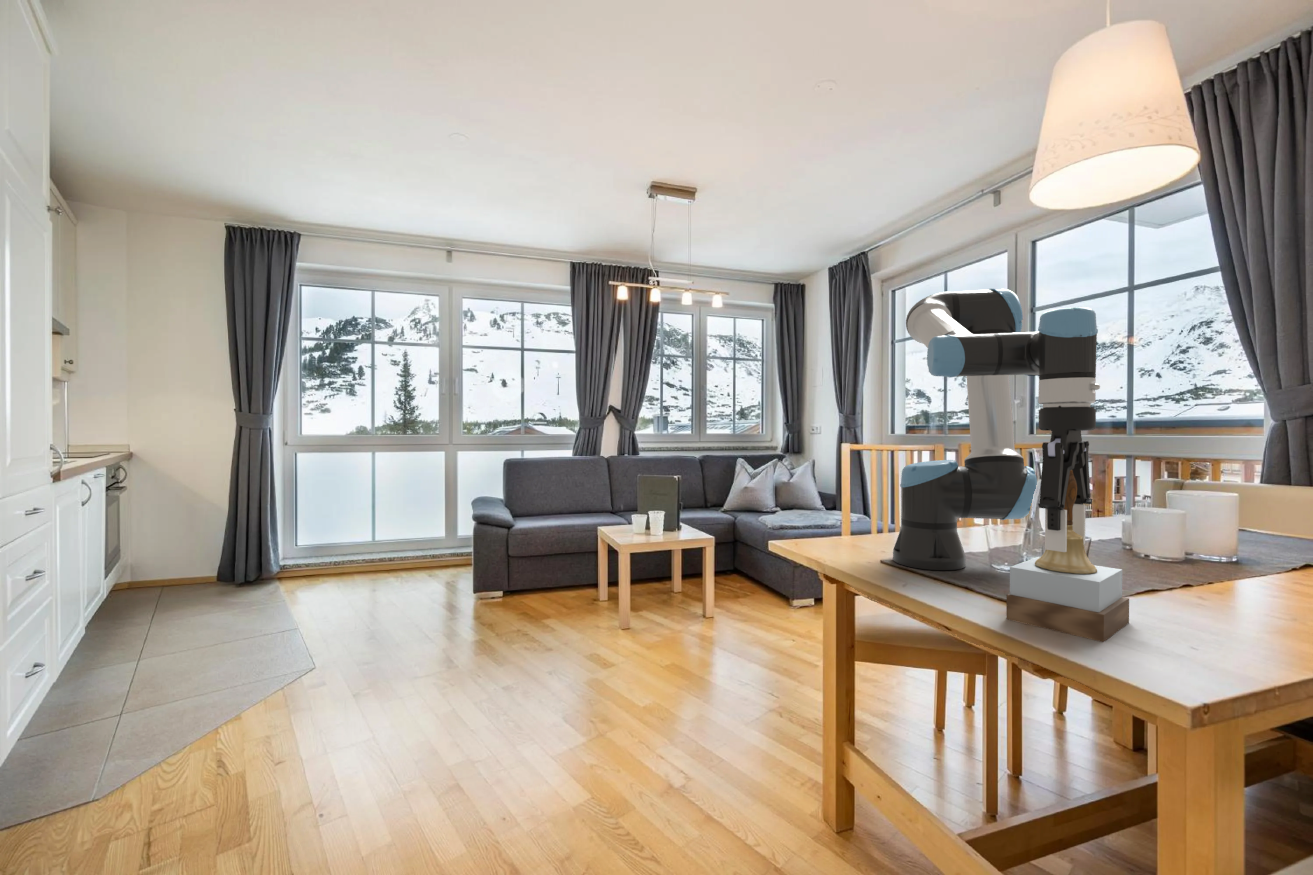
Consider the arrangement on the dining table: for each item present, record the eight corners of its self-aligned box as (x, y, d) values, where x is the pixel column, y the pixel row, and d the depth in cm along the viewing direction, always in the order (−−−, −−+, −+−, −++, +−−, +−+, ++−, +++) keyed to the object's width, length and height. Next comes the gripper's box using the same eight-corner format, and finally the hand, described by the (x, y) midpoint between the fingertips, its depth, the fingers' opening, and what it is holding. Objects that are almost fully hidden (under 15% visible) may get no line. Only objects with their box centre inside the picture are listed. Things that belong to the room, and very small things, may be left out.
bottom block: (1006, 621, 95) (1006, 594, 95) (1036, 606, 103) (1036, 581, 103) (1103, 645, 85) (1103, 614, 85) (1128, 626, 93) (1129, 598, 93)
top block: (1009, 594, 95) (1009, 566, 95) (1037, 581, 102) (1037, 556, 102) (1099, 612, 86) (1099, 582, 85) (1122, 597, 93) (1122, 569, 93)
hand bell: (1101, 567, 94) (1102, 469, 94) (1092, 577, 88) (1093, 472, 88) (1041, 559, 100) (1041, 467, 100) (1029, 567, 94) (1029, 469, 94)
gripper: (1071, 404, 84) (1070, 560, 84) (1114, 406, 97) (1113, 541, 97) (1014, 405, 90) (1013, 551, 90) (1062, 407, 103) (1061, 535, 103)
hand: (1065, 546), depth 94 cm, fingers open, 8 cm apart
